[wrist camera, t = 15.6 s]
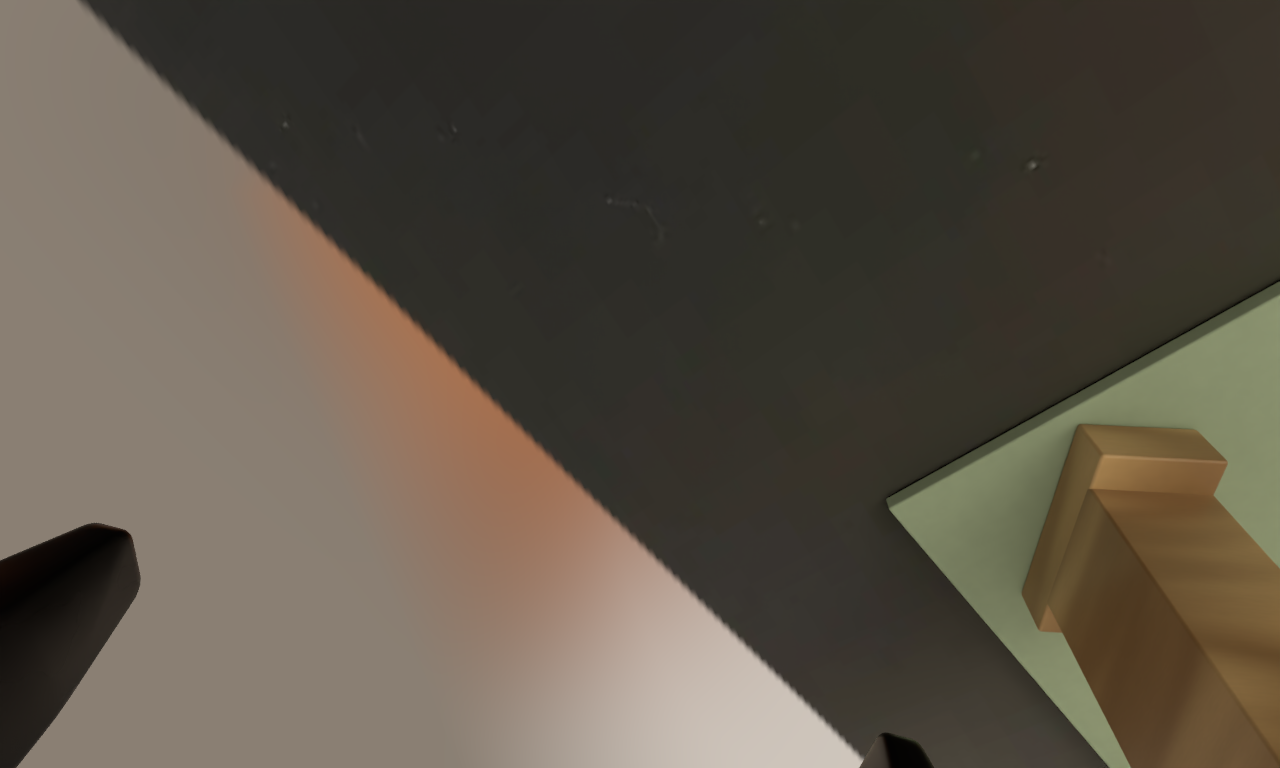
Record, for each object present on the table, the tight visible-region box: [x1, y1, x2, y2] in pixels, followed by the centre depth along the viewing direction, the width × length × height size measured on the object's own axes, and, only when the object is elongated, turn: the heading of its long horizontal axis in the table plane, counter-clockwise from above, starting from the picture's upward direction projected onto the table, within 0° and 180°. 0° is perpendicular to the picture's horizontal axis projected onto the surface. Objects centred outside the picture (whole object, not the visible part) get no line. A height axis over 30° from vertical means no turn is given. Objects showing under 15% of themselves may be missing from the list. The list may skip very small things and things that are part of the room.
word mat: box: [886, 281, 1280, 768], centre depth 24 cm, size 13×22×1 cm, turn 40°
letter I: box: [1022, 424, 1280, 768], centre depth 16 cm, size 3×6×14 cm, turn 179°
